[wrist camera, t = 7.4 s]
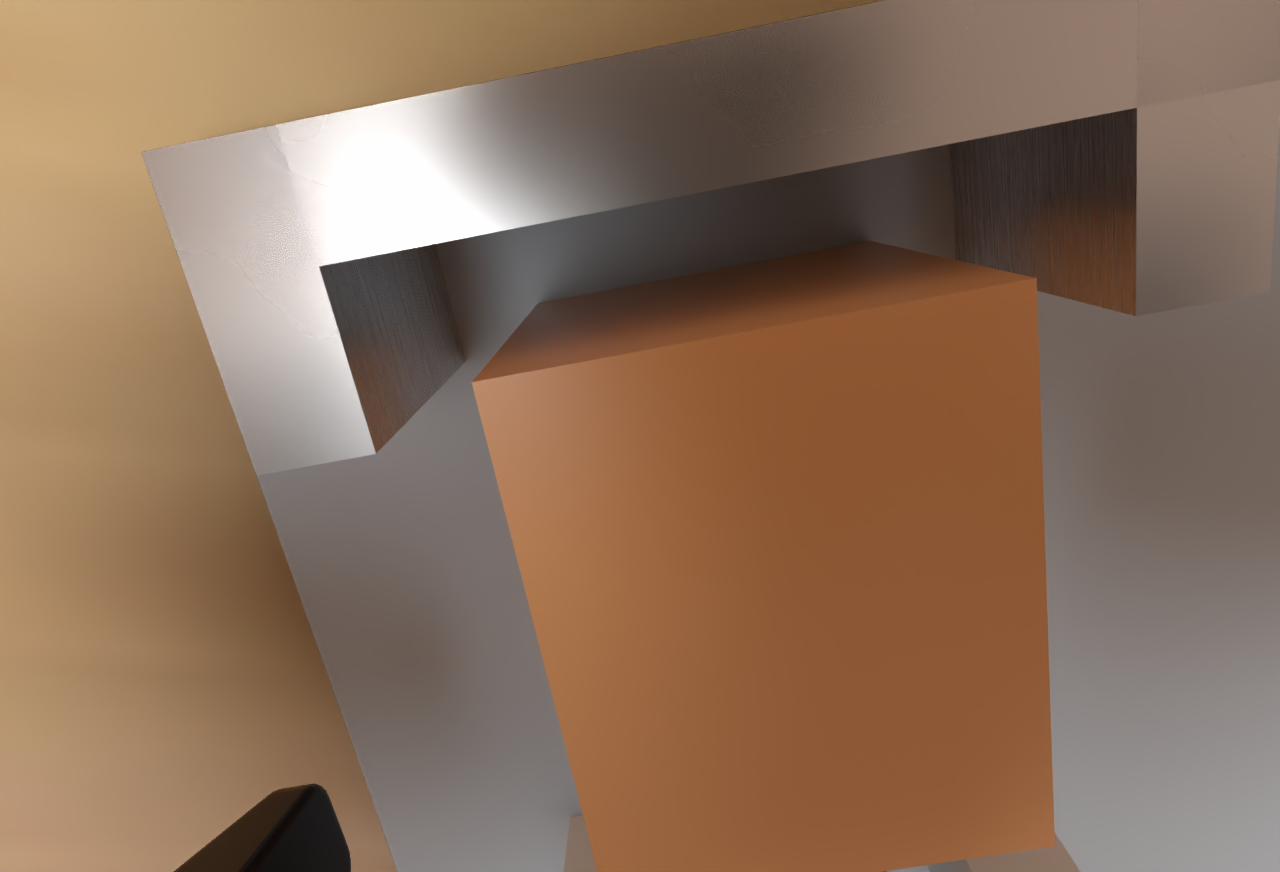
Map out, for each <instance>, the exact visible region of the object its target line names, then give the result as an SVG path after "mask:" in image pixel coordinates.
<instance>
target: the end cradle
mask: <svg viewBox="0 0 1280 872" xmlns="http://www.w3.org/2000/svg"><path fill="white" fill-rule="evenodd" d="M1279 124H1280V0H885V1H880V2H875V3H870V4H865V5H860V6H855V7H850V8H845V9H841V10H836V11H831V12H826V13H821V14H816V15H811V16H806V17H801V18H796V19H792V20H787V21H782V22H777V23H772V24H767V25H762V26H757V27H752V28H747V29H743V30H738V31H733V32H728V33H723V34H718V35H713V36H708V37H703V38H698V39H694V40H689V41H684V42H679V43H674V44H669V45H664V46H659V47H654V48H649V49H645V50H640V51H635V52H630V53H625V54H620V55H615V56H610V57H605V58H600V59H596V60H591V61H586V62H581V63H576V64H571V65H566V66H561V67H556V68H551V69H547V70H542V71H537V72H532V73H527V74H522V75H517V76H512V77H507V78H502V79H498V80H493V81H488V82H483V83H478V84H473V85H468V86H463V87H458V88H453V89H448V90H444V91H439V92H434V93H429V94H424V95H419V96H414V97H409V98H404V99H399V100H395V101H390V102H385V103H380V104H375V105H370V106H365V107H360V108H355V109H350V110H346V111H341V112H336V113H331V114H326V115H321V116H316V117H311V118H306V119H301V120H297V121H292V122H287V123H282V124H277V125H272V126H267V127H262V128H257V129H252V130H248V131H243V132H238V133H233V134H228V135H223V136H218V137H213V138H208V139H203V140H199V141H194V142H189V143H184V144H179V145H174V146H169V147H164V148H159V149H154V150H150V151H145V152H141V153H142V156H143V159H144V162H145V164H146V167H147V170H148V173H149V176H150V179H151V181H152V184H153V187H154V190H155V193H156V195H157V198H158V201H159V204H160V207H161V209H162V212H163V215H164V218H165V221H166V223H167V226H168V229H169V232H170V235H171V237H172V240H173V243H174V246H175V249H176V252H177V254H178V257H179V260H180V263H181V266H182V268H183V271H184V274H185V277H186V280H187V282H188V285H189V288H190V291H191V294H192V296H193V299H194V302H195V305H196V308H197V310H198V313H199V316H200V319H201V322H202V325H203V327H204V330H205V333H206V336H207V339H208V341H209V344H210V347H211V350H212V353H213V355H214V358H215V361H216V364H217V367H218V369H219V372H220V375H221V378H222V381H223V384H224V386H225V389H226V392H227V395H228V398H229V400H230V403H231V406H232V409H233V412H234V414H235V417H236V420H237V423H238V426H239V428H240V431H241V434H242V437H243V440H244V442H245V445H246V448H247V451H248V454H249V457H250V459H251V462H252V465H253V468H254V471H255V473H256V476H257V475H263V474H268V473H274V472H279V471H285V470H290V469H296V468H301V467H307V466H312V465H318V464H323V463H329V462H335V461H340V460H346V459H351V458H357V457H362V456H368V455H373V454H376V453H377V452H378V451H379V450H380V449H381V448H382V447H383V446H384V445H385V444H386V443H387V442H388V441H389V440H390V439H391V438H392V437H393V436H394V435H395V434H396V433H397V432H398V431H399V430H400V429H401V428H402V427H403V426H404V425H405V424H406V423H407V422H408V421H409V420H410V418H411V417H412V416H413V415H414V414H415V413H416V412H417V411H418V410H419V409H420V408H421V407H422V406H423V405H424V404H425V403H426V402H427V401H428V400H429V399H430V398H431V397H432V396H433V395H434V394H435V393H436V392H437V391H438V390H439V389H440V388H441V387H442V386H443V385H444V383H445V382H446V381H447V380H448V379H449V378H450V377H451V376H452V375H453V374H454V373H455V372H456V371H457V370H458V369H459V368H460V367H461V366H462V365H463V364H464V363H465V362H466V360H465V357H464V353H463V349H462V345H461V341H460V337H459V333H458V329H457V326H456V322H455V318H454V314H453V310H452V306H451V302H450V298H449V295H448V291H447V287H446V283H445V279H444V275H443V271H442V267H441V264H440V260H439V256H438V252H437V248H436V244H437V243H442V242H448V241H453V240H458V239H463V238H468V237H473V236H479V235H484V234H489V233H494V232H499V231H504V230H509V229H515V228H520V227H525V226H530V225H535V224H540V223H546V222H551V221H556V220H561V219H566V218H571V217H576V216H582V215H587V214H592V213H597V212H602V211H607V210H612V209H618V208H623V207H628V206H633V205H638V204H643V203H649V202H654V201H659V200H664V199H669V198H674V197H679V196H685V195H690V194H695V193H700V192H705V191H710V190H715V189H721V188H726V187H731V186H736V185H741V184H746V183H752V182H757V181H762V180H767V179H772V178H777V177H782V176H788V175H793V174H798V173H803V172H808V171H813V170H818V169H824V168H829V167H834V166H839V165H844V164H849V163H855V162H860V161H865V160H870V159H875V158H880V157H885V156H891V155H896V154H901V153H906V152H911V151H916V150H921V149H927V148H932V147H937V146H942V145H947V144H949V151H950V167H951V183H952V199H953V215H954V231H955V247H956V260H958V261H963V262H967V263H972V264H976V265H980V266H985V267H989V268H994V269H998V270H1002V271H1007V272H1011V273H1016V274H1020V275H1025V276H1029V277H1033V278H1037V291H1040V292H1044V293H1048V294H1051V295H1055V296H1059V297H1063V298H1067V299H1071V300H1075V301H1079V302H1082V303H1086V304H1090V305H1094V306H1098V307H1102V308H1106V309H1110V310H1114V311H1117V312H1121V313H1125V314H1129V315H1133V316H1140V315H1146V314H1151V313H1157V312H1162V311H1168V310H1174V309H1179V308H1185V307H1190V306H1196V305H1201V304H1207V303H1212V302H1218V301H1223V300H1229V299H1234V298H1240V297H1245V296H1251V295H1256V294H1262V293H1267V292H1270V285H1271V267H1272V249H1273V231H1274V213H1275V195H1276V178H1277V160H1278V142H1279Z"/></svg>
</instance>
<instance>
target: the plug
mask: <svg viewBox="0 0 1280 872" xmlns="http://www.w3.org/2000/svg"><path fill="white" fill-rule="evenodd" d="M472 386H473V390H474V394H475V398H476V402H477V406H478V409H479V413H480V417H481V421H482V425H483V429H484V433H485V437H486V440H487V444H488V448H489V452H490V456H491V460H492V464H493V468H494V472H495V475H496V479H497V483H498V487H499V491H500V495H501V499H502V503H503V507H504V510H505V514H506V518H507V522H508V526H509V530H510V534H511V538H512V542H513V545H514V549H515V553H516V557H517V561H518V565H519V569H520V573H521V577H522V580H523V584H524V588H525V592H526V596H527V600H528V604H529V608H530V611H531V615H532V619H533V623H534V627H535V631H536V635H537V639H538V643H539V646H540V650H541V654H542V658H543V662H544V666H545V670H546V674H547V678H548V681H549V685H550V689H551V693H552V697H553V701H554V705H555V709H556V713H557V716H558V720H559V724H560V728H561V732H562V736H563V740H564V744H565V748H566V751H567V755H568V759H569V763H570V767H571V771H572V775H573V779H574V782H575V786H576V790H577V794H578V798H579V802H580V806H581V810H582V814H583V817H584V821H585V825H586V829H587V833H588V837H589V841H590V845H591V849H592V852H593V856H594V860H595V864H596V868H597V872H887V871H890V870H897V869H904V868H910V867H917V866H924V865H930V864H937V863H944V862H951V861H957V860H964V859H971V858H978V857H984V856H991V855H998V854H1005V853H1011V852H1018V851H1025V850H1031V849H1038V848H1045V847H1052V846H1055V830H1054V799H1053V768H1052V738H1051V707H1050V676H1049V645H1048V614H1047V584H1046V553H1045V522H1044V491H1043V461H1042V430H1041V399H1040V368H1039V337H1038V307H1037V278H1033V277H1029V276H1025V275H1020V274H1016V273H1011V272H1007V271H1002V270H998V269H994V268H989V267H985V266H980V265H976V264H972V263H967V262H963V261H958V260H954V259H950V258H945V257H941V256H936V255H932V254H928V253H923V252H919V251H914V250H910V249H905V248H901V247H897V246H892V245H888V244H883V243H879V242H875V241H866V242H861V243H855V244H850V245H845V246H839V247H834V248H829V249H824V250H818V251H813V252H808V253H802V254H797V255H792V256H786V257H781V258H776V259H770V260H765V261H760V262H755V263H749V264H744V265H739V266H733V267H728V268H723V269H717V270H712V271H707V272H702V273H696V274H691V275H686V276H680V277H675V278H670V279H664V280H659V281H654V282H648V283H643V284H638V285H633V286H627V287H622V288H617V289H611V290H606V291H601V292H595V293H590V294H585V295H580V296H574V297H569V298H564V299H558V300H553V301H548V302H542V303H538V304H537V305H536V306H535V307H534V308H533V310H532V311H531V312H530V313H529V314H528V316H527V317H526V318H525V319H524V320H523V322H522V323H521V324H520V325H519V326H518V328H517V329H516V330H515V331H514V332H513V333H512V335H511V336H510V337H509V338H508V339H507V341H506V342H505V343H504V344H503V345H502V347H501V348H500V349H499V350H498V351H497V353H496V354H495V355H494V356H493V357H492V359H491V360H490V361H489V362H488V363H487V364H486V366H485V367H484V368H483V369H482V370H481V372H480V373H479V374H478V375H477V376H476V378H475V379H474V380H473V381H472Z"/></svg>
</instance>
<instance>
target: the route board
mask: <svg viewBox="0 0 1280 872" xmlns="http://www.w3.org/2000/svg"><path fill="white" fill-rule="evenodd" d="M866 241H875V242H879V243H883V244H888V245H892V246H897V247H901V248H905V249H910V250H914V251H919V252H923V253H928V254H932V255H936V256H941V257H945V258H950V259H954V260H956V247H955V231H954V215H953V199H952V183H951V167H950V151H949V144H947V145H942V146H937V147H932V148H927V149H921V150H916V151H911V152H906V153H901V154H896V155H891V156H885V157H880V158H875V159H870V160H865V161H860V162H855V163H849V164H844V165H839V166H834V167H829V168H824V169H818V170H813V171H808V172H803V173H798V174H793V175H788V176H782V177H777V178H772V179H767V180H762V181H757V182H752V183H746V184H741V185H736V186H731V187H726V188H721V189H715V190H710V191H705V192H700V193H695V194H690V195H685V196H679V197H674V198H669V199H664V200H659V201H654V202H649V203H643V204H638V205H633V206H628V207H623V208H618V209H612V210H607V211H602V212H597V213H592V214H587V215H582V216H576V217H571V218H566V219H561V220H556V221H551V222H546V223H540V224H535V225H530V226H525V227H520V228H515V229H509V230H504V231H499V232H494V233H489V234H484V235H479V236H473V237H468V238H463V239H458V240H453V241H448V242H442V243H437V244H436V248H437V252H438V256H439V260H440V264H441V267H442V271H443V275H444V279H445V283H446V287H447V291H448V295H449V298H450V302H451V306H452V310H453V314H454V318H455V322H456V326H457V329H458V333H459V337H460V341H461V345H462V349H463V353H464V357H465V360H466V362H465V363H464V364H463V365H462V366H461V367H460V368H459V369H458V370H457V371H456V372H455V373H454V374H453V375H452V376H451V377H450V378H449V379H448V380H447V381H446V382H445V383H444V385H443V386H442V387H441V388H440V389H439V390H438V391H437V392H436V393H435V394H434V395H433V396H432V397H431V398H430V399H429V400H428V401H427V402H426V403H425V404H424V405H423V406H422V407H421V408H420V409H419V410H418V411H417V412H416V413H415V414H414V415H413V416H412V417H411V418H410V420H409V421H408V422H407V423H406V424H405V425H404V426H403V427H402V428H401V429H400V430H399V431H398V432H397V433H396V434H395V435H394V436H393V437H392V438H391V439H390V440H389V441H388V442H387V443H386V444H385V445H384V446H383V447H382V448H381V449H380V450H379V451H378V452H377V453H376V454H373V455H368V456H362V457H357V458H351V459H346V460H340V461H335V462H329V463H323V464H318V465H312V466H307V467H301V468H296V469H290V470H285V471H279V472H274V473H268V474H263V475H257V478H258V481H259V484H260V487H261V490H262V492H263V495H264V498H265V501H266V504H267V506H268V509H269V512H270V515H271V518H272V521H273V523H274V526H275V529H276V532H277V535H278V537H279V540H280V543H281V546H282V549H283V551H284V554H285V557H286V560H287V563H288V565H289V568H290V571H291V574H292V577H293V580H294V582H295V585H296V588H297V591H298V594H299V596H300V599H301V602H302V605H303V608H304V610H305V613H306V616H307V619H308V622H309V624H310V627H311V630H312V633H313V636H314V639H315V641H316V644H317V647H318V650H319V653H320V655H321V658H322V661H323V664H324V667H325V669H326V672H327V675H328V678H329V681H330V683H331V686H332V689H333V692H334V695H335V697H336V700H337V703H338V706H339V709H340V712H341V714H342V717H343V720H344V723H345V726H346V728H347V731H348V734H349V737H350V740H351V742H352V745H353V748H354V751H355V754H356V756H357V759H358V762H359V765H360V768H361V771H362V773H363V776H364V779H365V782H366V785H367V787H368V790H369V793H370V796H371V799H372V801H373V804H374V807H375V810H376V813H377V815H378V818H379V821H380V824H381V827H382V830H383V832H384V835H385V838H386V841H387V844H388V846H389V849H390V852H391V855H392V858H393V860H394V863H395V866H396V869H397V872H564V866H565V856H566V847H567V837H568V827H569V818H570V817H572V816H579V815H583V814H582V810H581V806H580V802H579V798H578V794H577V790H576V786H575V782H574V779H573V775H572V771H571V767H570V763H569V759H568V755H567V751H566V748H565V744H564V740H563V736H562V732H561V728H560V724H559V720H558V716H557V713H556V709H555V705H554V701H553V697H552V693H551V689H550V685H549V681H548V678H547V674H546V670H545V666H544V662H543V658H542V654H541V650H540V646H539V643H538V639H537V635H536V631H535V627H534V623H533V619H532V615H531V611H530V608H529V604H528V600H527V596H526V592H525V588H524V584H523V580H522V577H521V573H520V569H519V565H518V561H517V557H516V553H515V549H514V545H513V542H512V538H511V534H510V530H509V526H508V522H507V518H506V514H505V510H504V507H503V503H502V499H501V495H500V491H499V487H498V483H497V479H496V475H495V472H494V468H493V464H492V460H491V456H490V452H489V448H488V444H487V440H486V437H485V433H484V429H483V425H482V421H481V417H480V413H479V409H478V406H477V402H476V398H475V394H474V390H473V386H472V381H473V380H474V379H475V378H476V376H477V375H478V374H479V373H480V372H481V370H482V369H483V368H484V367H485V366H486V364H487V363H488V362H489V361H490V360H491V359H492V357H493V356H494V355H495V354H496V353H497V351H498V350H499V349H500V348H501V347H502V345H503V344H504V343H505V342H506V341H507V339H508V338H509V337H510V336H511V335H512V333H513V332H514V331H515V330H516V329H517V328H518V326H519V325H520V324H521V323H522V322H523V320H524V319H525V318H526V317H527V316H528V314H529V313H530V312H531V311H532V310H533V308H534V307H535V306H536V305H537V304H538V303H542V302H548V301H553V300H558V299H564V298H569V297H574V296H580V295H585V294H590V293H595V292H601V291H606V290H611V289H617V288H622V287H627V286H633V285H638V284H643V283H648V282H654V281H659V280H664V279H670V278H675V277H680V276H686V275H691V274H696V273H702V272H707V271H712V270H717V269H723V268H728V267H733V266H739V265H744V264H749V263H755V262H760V261H765V260H770V259H776V258H781V257H786V256H792V255H797V254H802V253H808V252H813V251H818V250H824V249H829V248H834V247H839V246H845V245H850V244H855V243H861V242H866ZM1037 307H1038V337H1039V368H1040V399H1041V430H1042V461H1043V491H1044V522H1045V553H1046V584H1047V614H1048V645H1049V676H1050V707H1051V738H1052V768H1053V799H1054V830H1055V833H1056V835H1057V836H1058V838H1059V839H1060V841H1061V843H1062V844H1063V846H1064V847H1065V849H1066V850H1067V852H1068V853H1069V855H1070V856H1071V858H1072V859H1073V861H1074V863H1075V864H1076V866H1077V867H1078V869H1079V870H1080V872H1280V124H1279V142H1278V160H1277V178H1276V195H1275V213H1274V231H1273V249H1272V267H1271V285H1270V292H1267V293H1262V294H1256V295H1251V296H1245V297H1240V298H1234V299H1229V300H1223V301H1218V302H1212V303H1207V304H1201V305H1196V306H1190V307H1185V308H1179V309H1174V310H1168V311H1162V312H1157V313H1151V314H1146V315H1140V316H1133V315H1129V314H1125V313H1121V312H1117V311H1114V310H1110V309H1106V308H1102V307H1098V306H1094V305H1090V304H1086V303H1082V302H1079V301H1075V300H1071V299H1067V298H1063V297H1059V296H1055V295H1051V294H1048V293H1044V292H1040V291H1037ZM887 872H930V871H929V868H928V865H924V866H917V867H910V868H904V869H897V870H890V871H887Z"/></svg>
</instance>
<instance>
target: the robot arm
mask: <svg viewBox="0 0 1280 872" xmlns="http://www.w3.org/2000/svg"><path fill="white" fill-rule="evenodd" d="M174 872H351V859H350V853H349V849H348V846H347V843H346V840H345V838H344V835H343V833H342V830H341V827H340V825H339V822H338V819H337V817H336V814H335V811H334V809H333V806H332V803H331V801H330V798H329V796H328V794H327V792H326V790H325V789H324V788H323V787H322V786H320V785H317V784H307V785H301V786H295V787H289V788H283V789H279V790H276V791H274V792H272V793H271V794H270V795H268V796H267V797H266V798H265V799H263V800H262V801H261V802H260V803H258V804H257V805H256V806H255V807H253V808H252V809H251V810H250V811H248V812H247V813H246V814H245V815H243V816H242V817H241V818H240V819H238V820H237V821H236V822H235V823H233V824H232V825H231V826H230V827H228V828H227V829H226V830H225V831H223V832H222V833H221V834H220V835H219V836H217V837H216V838H215V839H214V840H212V841H211V842H210V843H209V844H207V845H206V846H205V847H204V848H202V849H201V850H200V851H199V852H197V853H196V854H195V855H194V856H192V857H191V858H190V859H189V860H187V861H186V862H185V863H184V864H182V865H181V866H180V867H179V868H177V869H176V870H175V871H174Z"/></svg>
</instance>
